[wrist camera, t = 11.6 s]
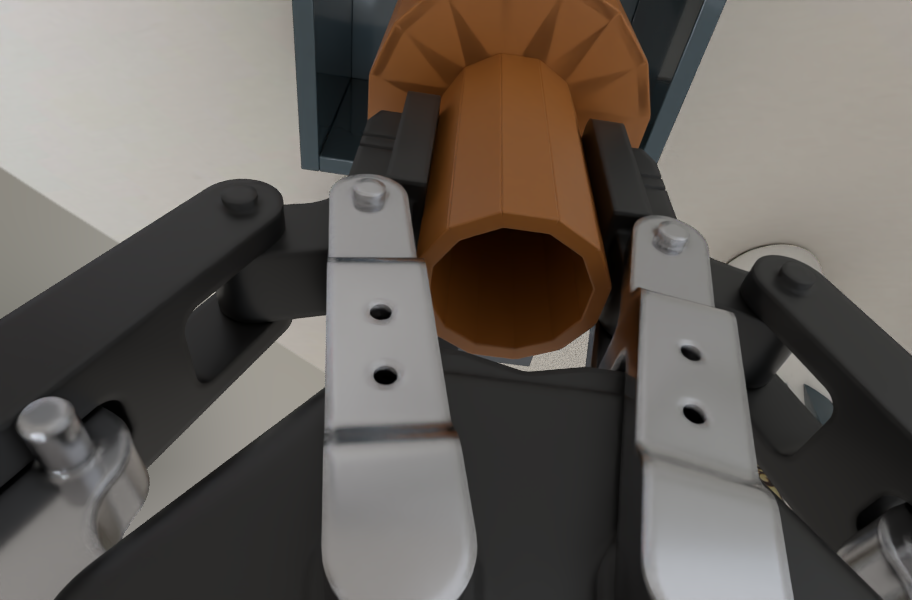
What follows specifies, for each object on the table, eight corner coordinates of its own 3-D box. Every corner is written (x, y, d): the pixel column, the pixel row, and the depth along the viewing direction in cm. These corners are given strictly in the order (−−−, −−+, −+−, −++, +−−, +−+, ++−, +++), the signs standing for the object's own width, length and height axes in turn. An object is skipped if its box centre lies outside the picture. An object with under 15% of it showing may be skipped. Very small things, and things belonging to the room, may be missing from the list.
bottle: (618, -107, 20) (812, 143, 8) (567, 82, 24) (636, 431, 12) (424, -140, 19) (296, 65, 7) (409, 58, 24) (314, 391, 12)
